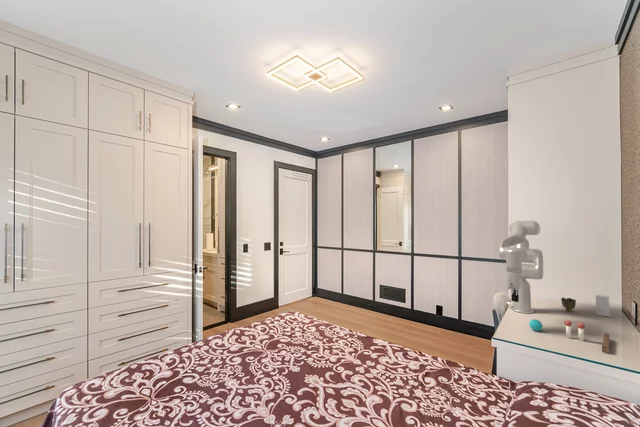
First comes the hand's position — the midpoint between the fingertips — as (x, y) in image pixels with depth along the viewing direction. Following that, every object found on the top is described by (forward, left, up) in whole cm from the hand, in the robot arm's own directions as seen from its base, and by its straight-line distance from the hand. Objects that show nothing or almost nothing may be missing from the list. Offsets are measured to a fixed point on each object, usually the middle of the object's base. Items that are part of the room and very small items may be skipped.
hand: (515, 301), depth 168 cm
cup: (+18, +51, -15) cm, 57 cm away
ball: (+9, 0, -12) cm, 15 cm away
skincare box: (+34, +55, -15) cm, 67 cm away
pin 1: (+23, 0, -15) cm, 28 cm away
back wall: (+37, 0, -15) cm, 40 cm away
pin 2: (+28, 0, -15) cm, 32 cm away
